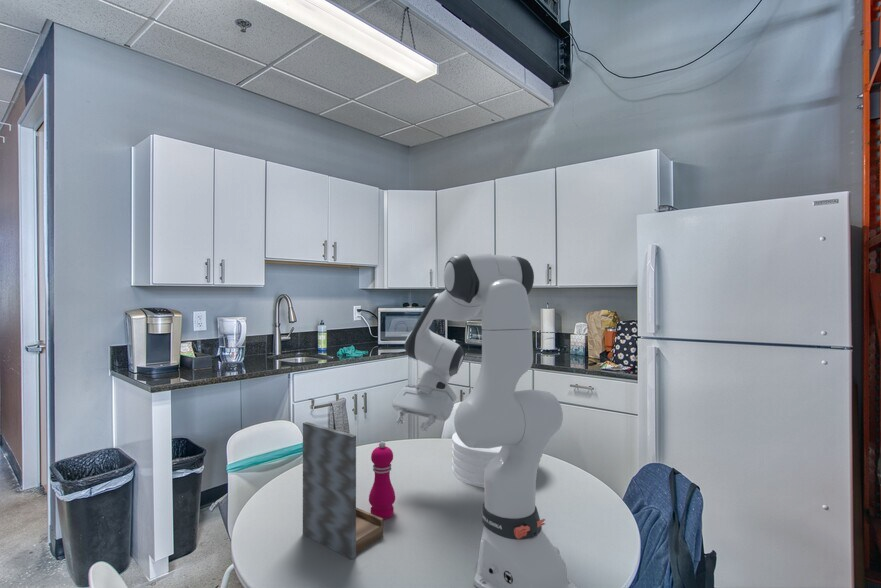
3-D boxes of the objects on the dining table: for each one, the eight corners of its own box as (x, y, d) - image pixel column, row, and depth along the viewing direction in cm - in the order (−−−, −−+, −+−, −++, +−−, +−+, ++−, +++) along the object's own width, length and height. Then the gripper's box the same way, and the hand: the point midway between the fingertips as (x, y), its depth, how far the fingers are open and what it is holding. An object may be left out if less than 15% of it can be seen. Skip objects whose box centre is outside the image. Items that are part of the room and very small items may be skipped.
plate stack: (487, 497, 133) (487, 458, 133) (436, 466, 157) (436, 433, 156) (552, 476, 148) (552, 441, 148) (497, 451, 172) (497, 421, 172)
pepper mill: (363, 517, 120) (363, 443, 120) (377, 505, 127) (377, 435, 127) (387, 522, 118) (387, 447, 118) (399, 510, 125) (399, 439, 124)
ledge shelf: (385, 537, 111) (386, 425, 111) (352, 559, 102) (352, 436, 101) (337, 516, 121) (337, 413, 121) (302, 534, 112) (302, 423, 112)
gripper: (401, 378, 144) (379, 415, 136) (453, 386, 132) (433, 427, 124) (409, 389, 148) (389, 426, 140) (461, 398, 136) (442, 439, 128)
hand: (410, 426), depth 132 cm, fingers open, 8 cm apart
